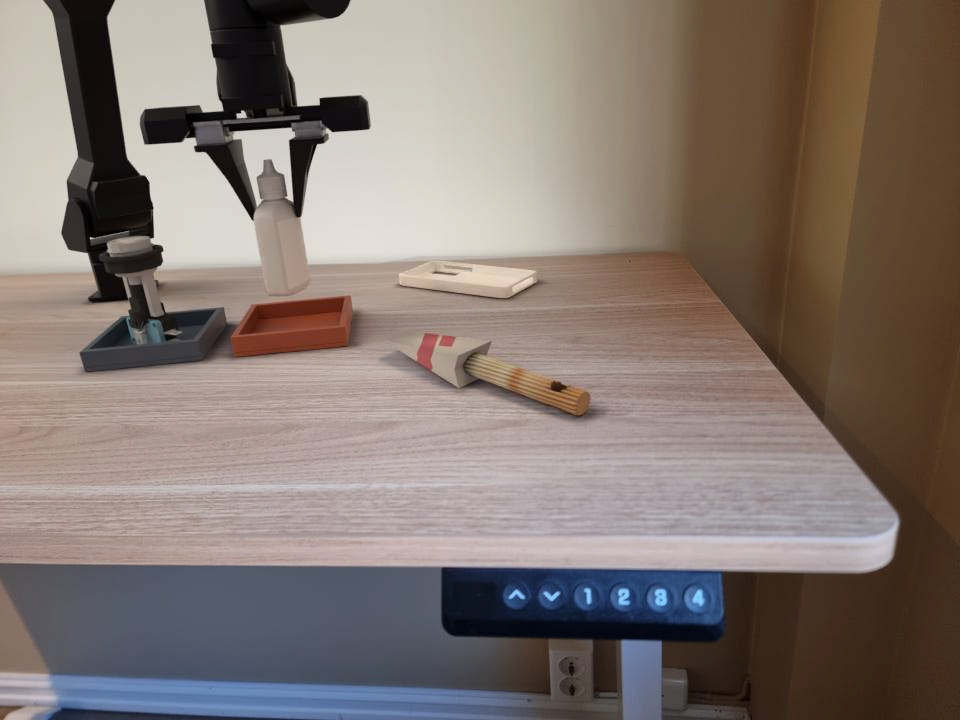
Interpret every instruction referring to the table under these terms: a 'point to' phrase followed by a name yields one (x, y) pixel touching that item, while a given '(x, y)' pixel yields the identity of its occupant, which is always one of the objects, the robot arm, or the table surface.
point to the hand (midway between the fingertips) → (277, 218)
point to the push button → (141, 288)
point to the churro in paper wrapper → (485, 368)
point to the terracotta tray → (294, 326)
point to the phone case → (469, 279)
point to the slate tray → (122, 353)
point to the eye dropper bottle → (279, 236)
